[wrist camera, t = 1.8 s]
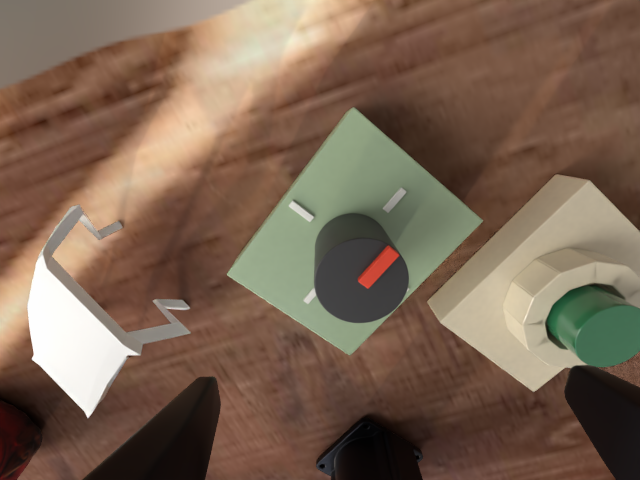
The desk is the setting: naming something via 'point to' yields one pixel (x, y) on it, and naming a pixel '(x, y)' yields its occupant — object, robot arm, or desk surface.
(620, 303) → the green button cap
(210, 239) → the desk surface
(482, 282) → the button base
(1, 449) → the red clay folk toy
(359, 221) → the dial
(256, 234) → the console
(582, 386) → the robot arm
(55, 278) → the white block with legs
